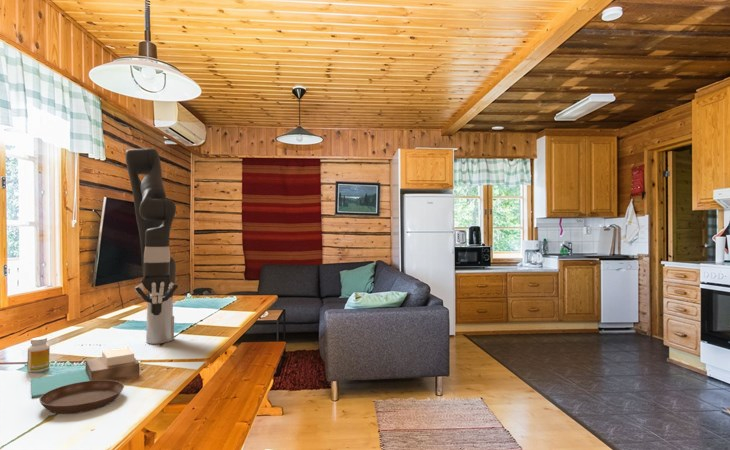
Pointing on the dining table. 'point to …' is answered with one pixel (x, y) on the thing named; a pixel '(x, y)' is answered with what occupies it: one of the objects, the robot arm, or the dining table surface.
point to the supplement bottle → (38, 355)
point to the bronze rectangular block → (111, 370)
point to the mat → (56, 382)
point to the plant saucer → (81, 396)
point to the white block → (117, 356)
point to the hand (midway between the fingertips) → (155, 314)
